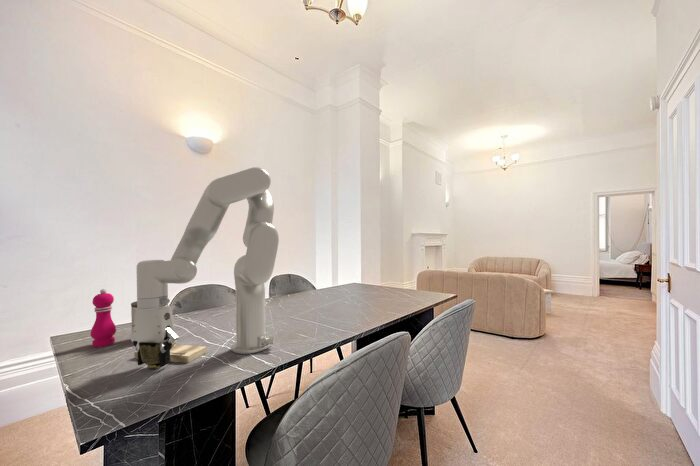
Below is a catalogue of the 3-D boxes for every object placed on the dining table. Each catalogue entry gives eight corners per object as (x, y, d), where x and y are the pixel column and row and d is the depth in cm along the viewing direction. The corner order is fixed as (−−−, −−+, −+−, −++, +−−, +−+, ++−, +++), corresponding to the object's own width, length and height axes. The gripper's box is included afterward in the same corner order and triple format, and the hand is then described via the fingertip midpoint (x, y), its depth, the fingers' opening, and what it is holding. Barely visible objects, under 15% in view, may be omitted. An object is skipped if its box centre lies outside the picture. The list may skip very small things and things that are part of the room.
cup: (136, 375, 82) (135, 346, 83) (142, 365, 89) (142, 338, 89) (167, 370, 85) (167, 342, 86) (171, 360, 92) (171, 334, 92)
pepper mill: (85, 346, 107) (85, 290, 107) (108, 339, 114) (108, 286, 114) (98, 348, 104) (97, 291, 105) (120, 341, 111) (120, 287, 111)
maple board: (206, 352, 98) (206, 346, 98) (188, 362, 90) (188, 355, 90) (156, 349, 103) (156, 342, 103) (134, 358, 95) (134, 351, 95)
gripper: (188, 300, 89) (189, 360, 89) (139, 299, 93) (140, 357, 93) (167, 306, 82) (169, 371, 82) (116, 304, 86) (117, 367, 85)
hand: (154, 363), depth 87 cm, fingers closed on cup, 6 cm apart
